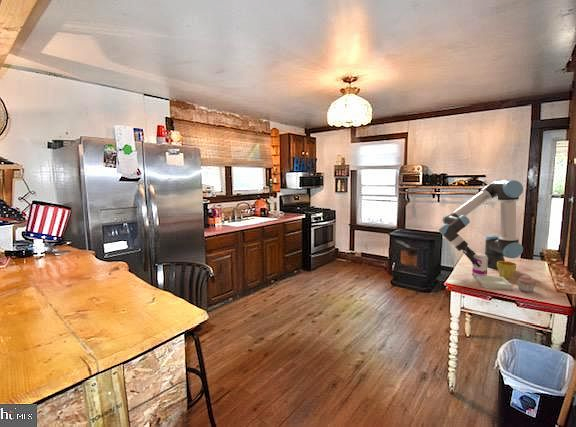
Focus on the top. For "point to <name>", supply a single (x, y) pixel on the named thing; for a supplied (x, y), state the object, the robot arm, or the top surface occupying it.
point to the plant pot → (506, 269)
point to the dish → (494, 282)
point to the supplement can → (483, 261)
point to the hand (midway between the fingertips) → (484, 267)
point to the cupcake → (526, 283)
